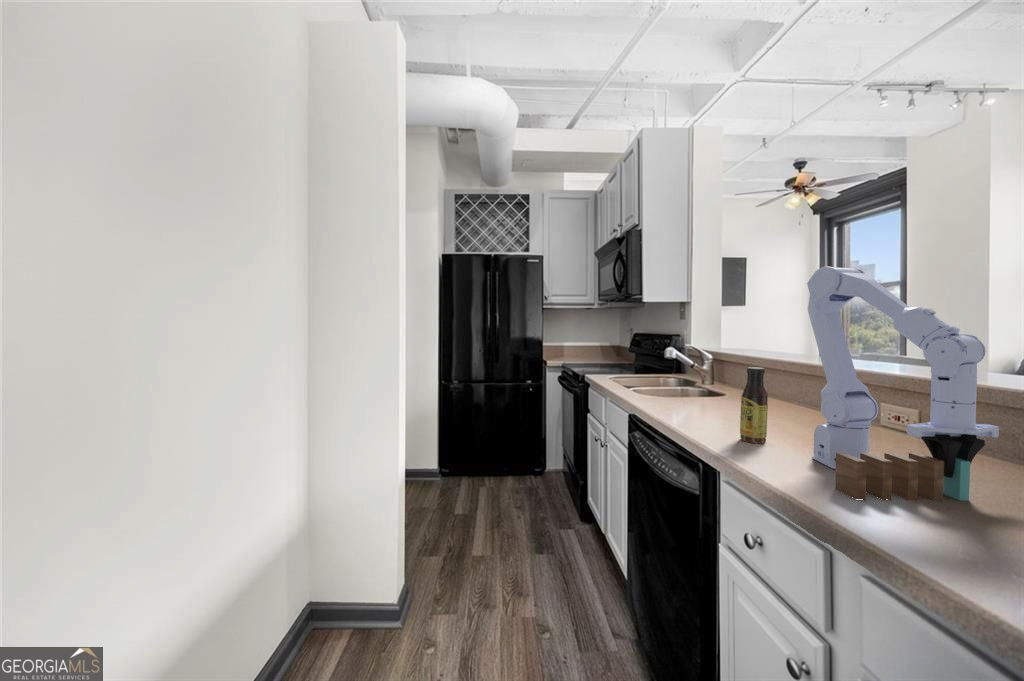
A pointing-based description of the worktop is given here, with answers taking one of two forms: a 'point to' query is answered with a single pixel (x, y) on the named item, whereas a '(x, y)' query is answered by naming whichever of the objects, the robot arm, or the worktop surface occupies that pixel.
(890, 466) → the domino
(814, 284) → the robot arm
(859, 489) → the domino
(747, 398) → the sauce bottle
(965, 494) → the domino
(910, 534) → the worktop surface
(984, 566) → the worktop surface
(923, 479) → the domino
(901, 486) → the domino
